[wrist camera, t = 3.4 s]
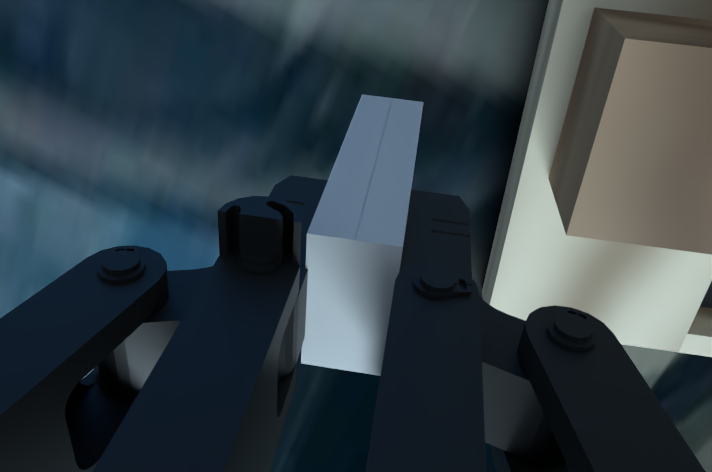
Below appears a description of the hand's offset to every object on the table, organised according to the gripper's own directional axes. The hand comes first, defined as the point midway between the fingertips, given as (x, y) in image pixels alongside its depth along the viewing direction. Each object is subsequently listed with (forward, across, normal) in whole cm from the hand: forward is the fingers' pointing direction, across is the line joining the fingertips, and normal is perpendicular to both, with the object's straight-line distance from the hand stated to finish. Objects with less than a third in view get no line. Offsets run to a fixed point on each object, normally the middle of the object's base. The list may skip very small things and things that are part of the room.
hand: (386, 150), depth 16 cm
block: (+7, +9, 0) cm, 11 cm away
